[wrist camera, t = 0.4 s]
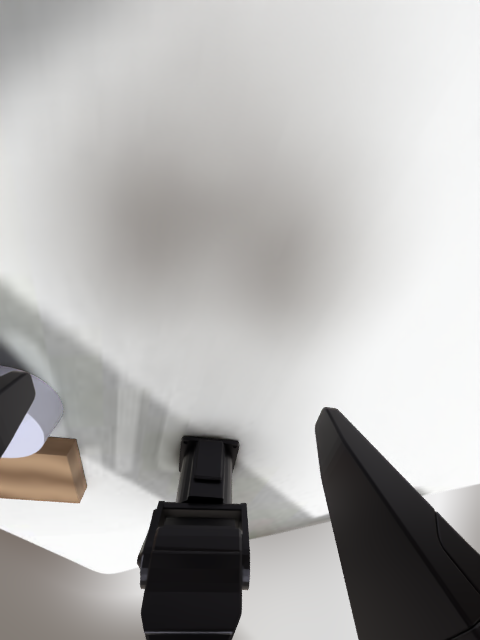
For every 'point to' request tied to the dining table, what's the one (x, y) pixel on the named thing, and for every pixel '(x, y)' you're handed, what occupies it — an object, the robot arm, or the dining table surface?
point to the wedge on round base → (35, 419)
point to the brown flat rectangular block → (45, 474)
